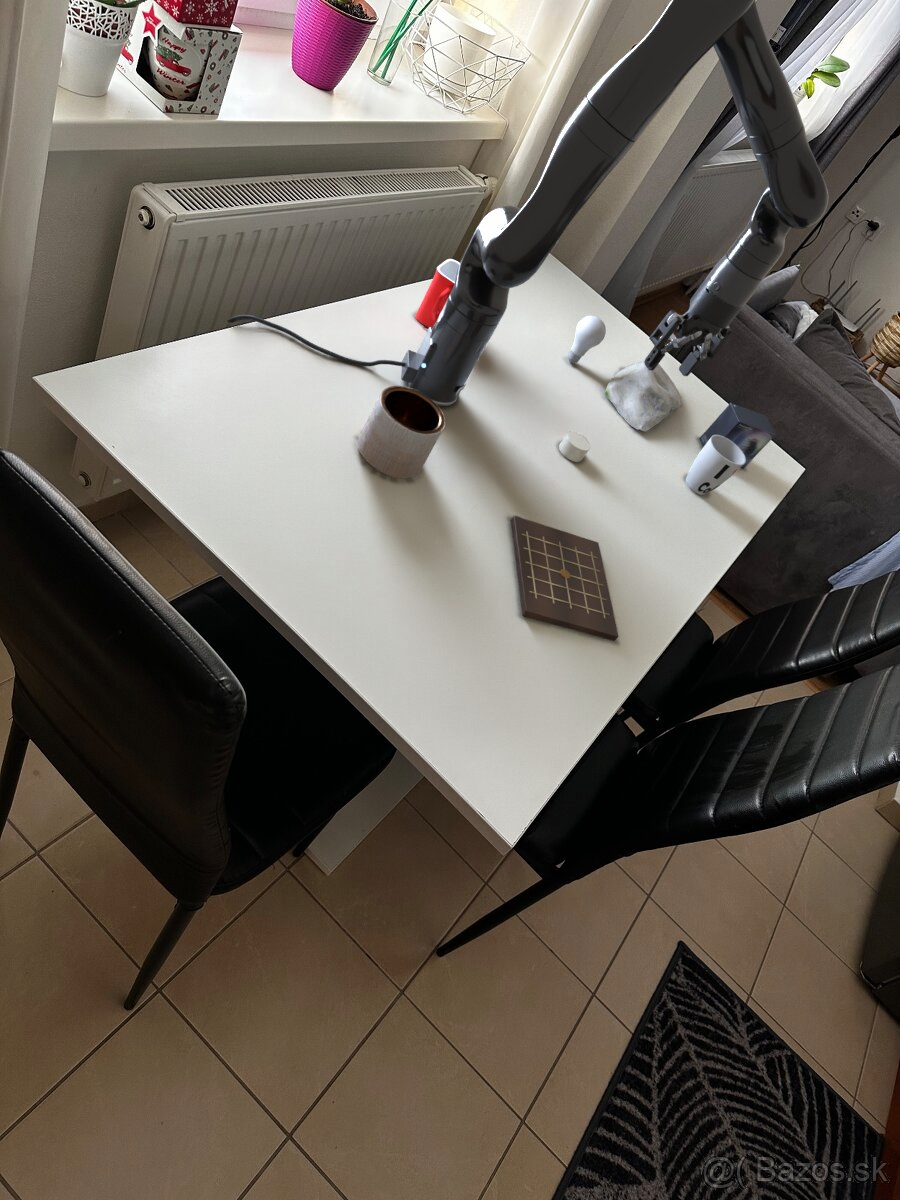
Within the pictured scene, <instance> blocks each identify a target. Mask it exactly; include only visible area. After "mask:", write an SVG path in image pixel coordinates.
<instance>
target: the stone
mask: <svg viewBox="0 0 900 1200" xmlns="http://www.w3.org/2000/svg"><path fill="white" fill-rule="evenodd" d="M644 362H645V360H642V361H638V362H635V363H632V364H630V365H628V366H626V367H624V368H622V369H620V370H619V371H618V372H617V373H615V374H614V375H613V377H611V379H610V380H609V382H608V384H607V386H606V388H605V391H604V394H605V396H606V397H607V398H608V399H609V401H610V402H611V403H612V404H613V406H614V408H615V409H616V411H617V413H618V414H619V415H620V416H621V417H622V418H623V419H624V420H625V422H626V423H627V424H628V425H630V426H631V427H632V428H634V429H635V430H639V431H643V432H648V431H649V430H650V429H652V428H654V426H656V425H657V424H659V423H660V422H661V421H663V420H664V419H665V418H667V417H668V416H669V415H670V412H671V411H673V412H674V411H676V409H678V408H679V407H680V406H681V405H682V404H683V402H682V395H681V394H680V391H679V389H678V388H677V386H676V384H675V383H674V382H673V380H672V379H671V377H670V376H669V374H668V373H667V372H666V371H665V370H664V368H663V367H662V366H661V364H660V363H659V364H658V365H657V366H656V368H655V369H654V370H653V371H651V370H648V368H647V367H646V366H645V364H644Z"/></svg>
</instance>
